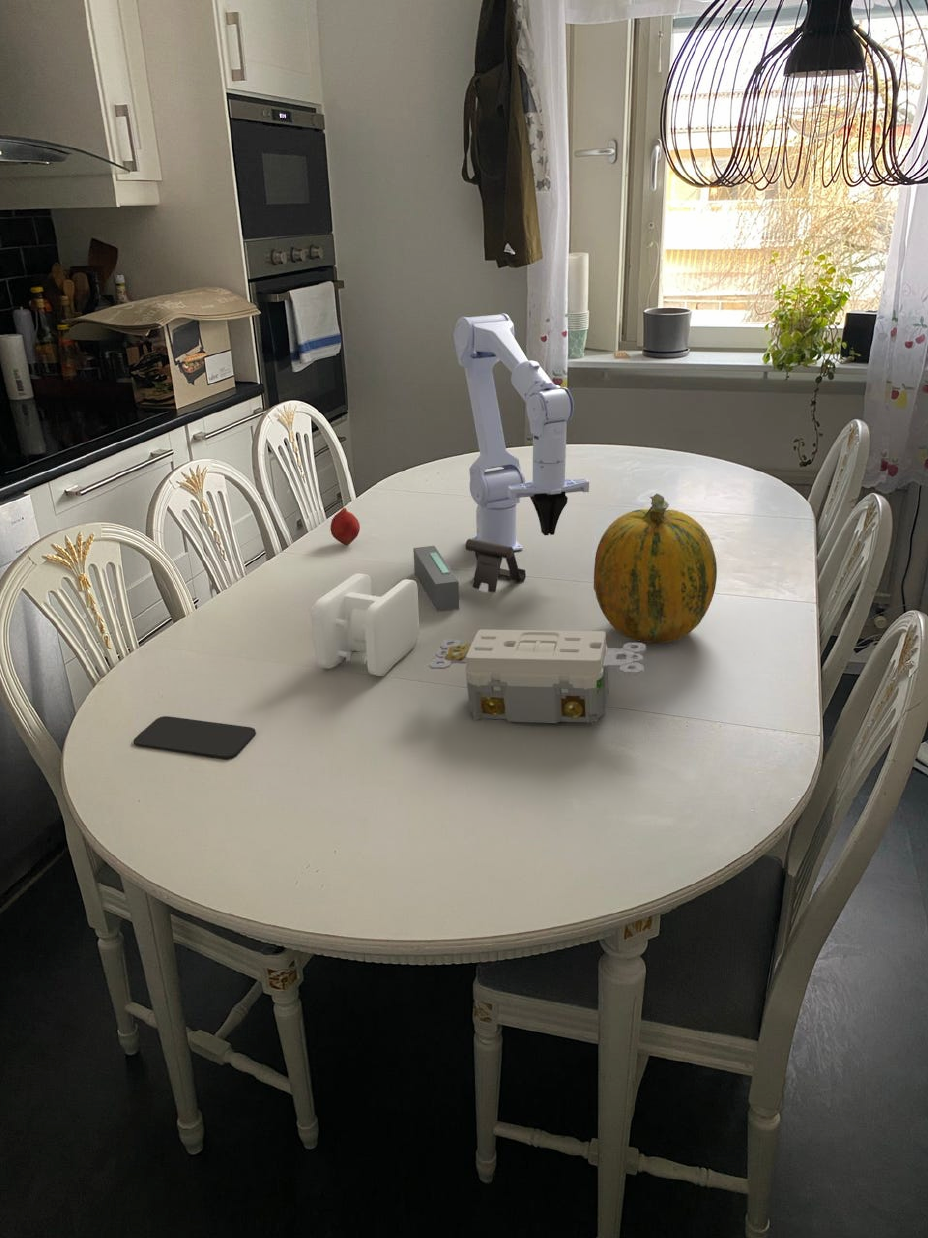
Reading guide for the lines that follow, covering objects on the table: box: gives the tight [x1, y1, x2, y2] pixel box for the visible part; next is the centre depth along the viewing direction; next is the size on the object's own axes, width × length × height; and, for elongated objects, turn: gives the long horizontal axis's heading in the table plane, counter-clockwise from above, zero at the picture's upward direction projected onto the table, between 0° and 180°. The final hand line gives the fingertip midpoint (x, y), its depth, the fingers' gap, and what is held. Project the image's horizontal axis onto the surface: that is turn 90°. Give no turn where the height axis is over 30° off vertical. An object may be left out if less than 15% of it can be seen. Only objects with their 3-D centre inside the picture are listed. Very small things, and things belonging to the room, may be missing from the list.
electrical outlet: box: [428, 629, 647, 724], centre depth 129 cm, size 12×28×10 cm, turn 77°
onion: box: [329, 507, 361, 546], centre depth 189 cm, size 6×6×8 cm
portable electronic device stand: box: [465, 538, 527, 593], centre depth 169 cm, size 9×8×8 cm
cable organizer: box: [310, 573, 420, 677], centre depth 142 cm, size 15×11×12 cm
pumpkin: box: [593, 493, 718, 644], centre depth 146 cm, size 19×19×25 cm
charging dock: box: [412, 545, 460, 612], centre depth 168 cm, size 18×4×5 cm, turn 15°
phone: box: [132, 715, 257, 761], centre depth 125 cm, size 7×1×15 cm
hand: (547, 533), depth 170 cm, fingers closed
